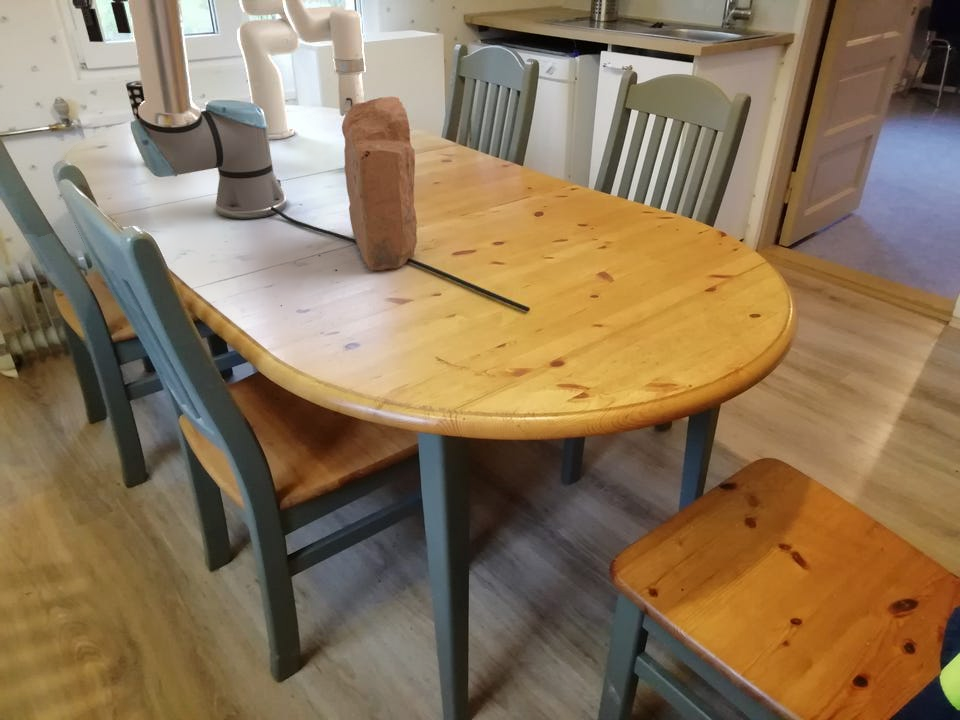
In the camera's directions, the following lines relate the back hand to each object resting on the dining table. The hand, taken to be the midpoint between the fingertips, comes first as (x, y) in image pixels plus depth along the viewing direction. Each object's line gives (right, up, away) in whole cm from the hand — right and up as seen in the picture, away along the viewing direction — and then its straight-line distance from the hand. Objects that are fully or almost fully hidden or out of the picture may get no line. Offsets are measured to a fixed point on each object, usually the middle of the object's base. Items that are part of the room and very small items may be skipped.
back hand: (356, 136), depth 180 cm
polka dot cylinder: (-54, +4, +1) cm, 54 cm away
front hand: (-52, +16, -22) cm, 59 cm away
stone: (+13, -36, -40) cm, 56 cm away
